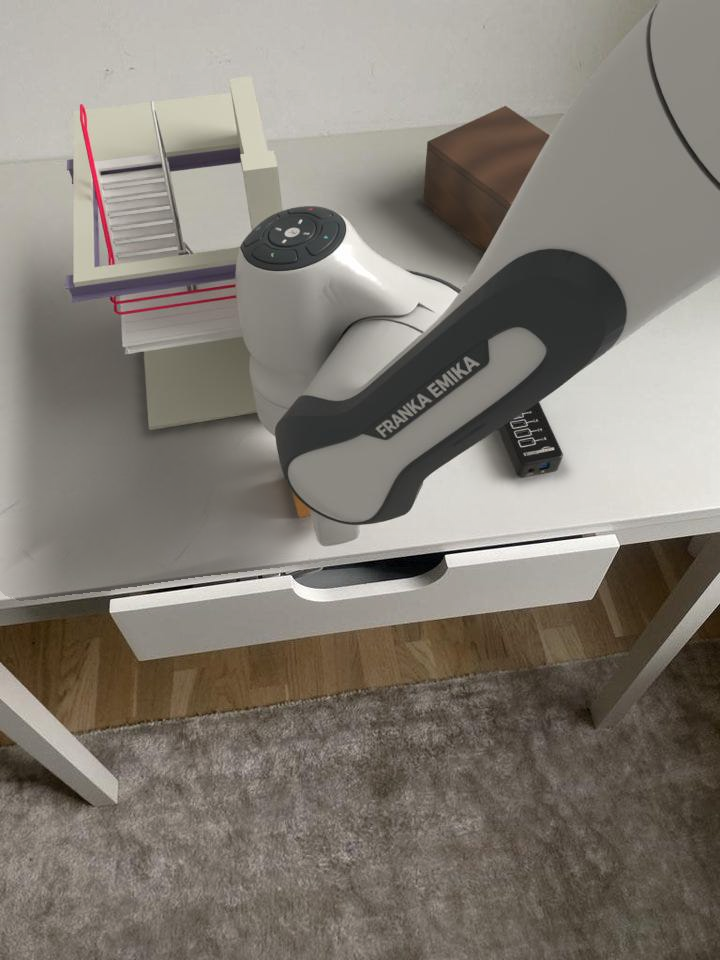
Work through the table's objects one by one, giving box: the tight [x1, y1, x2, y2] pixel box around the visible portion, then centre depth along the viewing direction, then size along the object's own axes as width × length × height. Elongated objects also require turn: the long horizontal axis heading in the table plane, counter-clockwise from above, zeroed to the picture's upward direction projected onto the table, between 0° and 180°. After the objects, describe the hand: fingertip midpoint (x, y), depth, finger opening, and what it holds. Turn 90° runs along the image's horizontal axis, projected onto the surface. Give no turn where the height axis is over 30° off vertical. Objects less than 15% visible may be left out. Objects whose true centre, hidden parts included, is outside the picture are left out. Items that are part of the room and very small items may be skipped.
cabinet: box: [422, 105, 551, 254], centre depth 95 cm, size 15×13×9 cm
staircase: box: [65, 75, 284, 431], centre depth 74 cm, size 27×18×30 cm, turn 12°
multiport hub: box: [497, 402, 564, 478], centre depth 79 cm, size 4×14×2 cm, turn 13°
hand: (316, 482), depth 74 cm, fingers open, 7 cm apart
